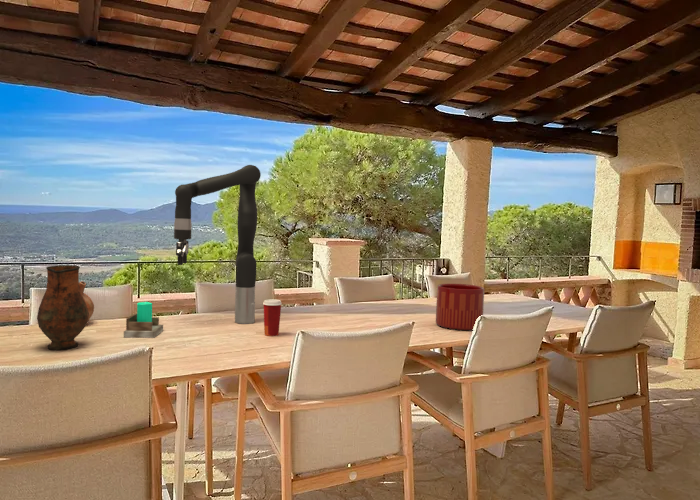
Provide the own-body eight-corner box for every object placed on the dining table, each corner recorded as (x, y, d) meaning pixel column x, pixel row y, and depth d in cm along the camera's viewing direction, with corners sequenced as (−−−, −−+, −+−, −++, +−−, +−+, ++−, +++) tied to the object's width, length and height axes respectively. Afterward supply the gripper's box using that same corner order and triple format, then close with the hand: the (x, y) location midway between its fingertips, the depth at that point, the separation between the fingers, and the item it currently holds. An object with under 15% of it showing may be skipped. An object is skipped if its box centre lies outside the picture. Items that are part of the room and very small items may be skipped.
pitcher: (29, 353, 176) (29, 268, 174) (48, 339, 196) (49, 262, 194) (82, 351, 180) (82, 269, 178) (95, 337, 201) (95, 263, 199)
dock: (163, 330, 218) (163, 313, 218) (154, 337, 204) (154, 319, 204) (134, 329, 217) (134, 312, 216) (123, 337, 203) (123, 319, 203)
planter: (463, 333, 235) (466, 290, 233) (426, 324, 252) (427, 284, 251) (491, 328, 250) (493, 287, 249) (454, 320, 267) (455, 282, 266)
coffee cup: (284, 333, 220) (285, 300, 219) (275, 337, 212) (276, 302, 211) (267, 331, 223) (268, 298, 222) (258, 335, 215) (259, 301, 214)
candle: (139, 326, 213) (139, 298, 213) (153, 326, 214) (154, 298, 213) (134, 329, 207) (135, 300, 207) (149, 329, 208) (149, 300, 207)
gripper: (188, 229, 221) (187, 265, 222) (194, 228, 236) (193, 262, 237) (170, 228, 221) (169, 265, 222) (177, 228, 235) (177, 262, 236)
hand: (182, 264), depth 229 cm, fingers open, 8 cm apart
